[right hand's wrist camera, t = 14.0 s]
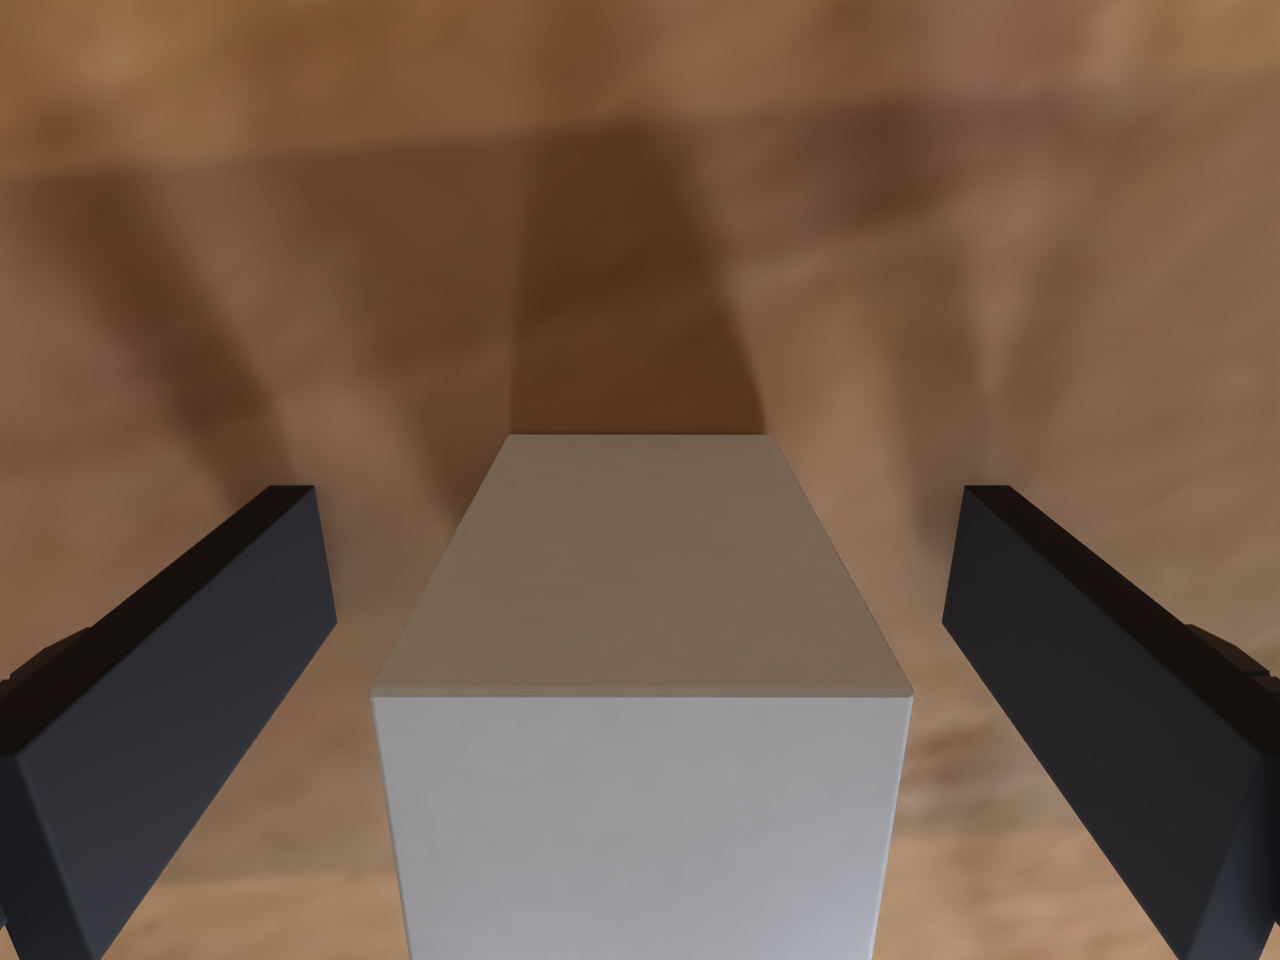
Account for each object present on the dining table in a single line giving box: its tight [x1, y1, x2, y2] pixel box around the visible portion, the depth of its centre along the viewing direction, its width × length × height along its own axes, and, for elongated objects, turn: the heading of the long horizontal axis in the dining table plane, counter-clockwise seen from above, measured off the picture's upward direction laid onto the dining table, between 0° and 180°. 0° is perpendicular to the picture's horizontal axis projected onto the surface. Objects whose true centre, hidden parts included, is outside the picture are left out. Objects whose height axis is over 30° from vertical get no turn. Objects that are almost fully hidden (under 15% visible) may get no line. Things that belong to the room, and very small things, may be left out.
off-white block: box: [369, 435, 914, 960], centre depth 10 cm, size 4×4×7 cm
